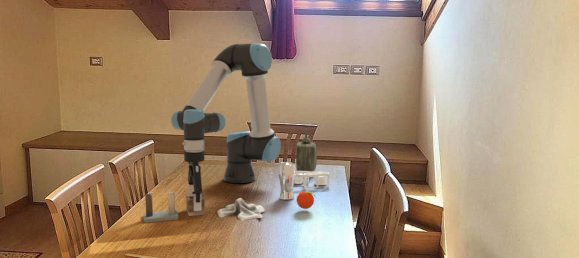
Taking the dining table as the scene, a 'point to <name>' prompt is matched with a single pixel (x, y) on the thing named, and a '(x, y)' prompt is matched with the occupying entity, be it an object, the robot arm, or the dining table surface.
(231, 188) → the dining table surface
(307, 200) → the clementine
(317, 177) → the clear divided organizer
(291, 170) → the beer glass
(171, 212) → the pin stand
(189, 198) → the brown open cube
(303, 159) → the green square bottle
